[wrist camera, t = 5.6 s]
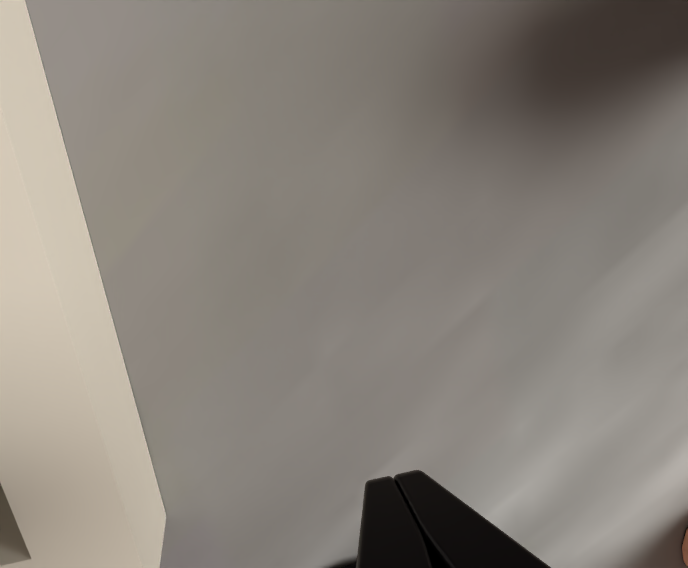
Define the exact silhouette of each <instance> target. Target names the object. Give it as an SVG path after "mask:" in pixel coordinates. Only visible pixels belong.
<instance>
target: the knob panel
mask: <svg viewBox="0 0 688 568" xmlns="http://www.w3.org/2000/svg"><path fill="white" fill-rule="evenodd" d="M0 483H1V485H0V568H159V567H160V560H161V552H162V545H163V537H164V530H165V522H166V513H165V509H164V506H163V502H162V498H161V495H160V491H159V487H158V484H157V480H156V477H155V473H154V469H153V466H152V462H151V458H150V455H149V451H148V447H147V444H146V440H145V436H144V433H143V429H142V426H141V422H140V418H139V415H138V411H137V407H136V404H135V400H134V396H133V393H132V389H131V385H130V382H129V378H128V374H127V371H126V367H125V364H124V360H123V356H122V353H121V349H120V345H119V342H118V338H117V334H116V331H115V327H114V323H113V320H112V316H111V313H110V309H109V305H108V302H107V298H106V294H105V291H104V287H103V283H102V280H101V276H100V272H99V269H98V265H97V262H96V258H95V254H94V251H93V247H92V243H91V240H90V236H89V232H88V229H87V225H86V221H85V218H84V214H83V210H82V207H81V203H80V200H79V196H78V192H77V189H76V185H75V181H74V178H73V174H72V170H71V167H70V163H69V159H68V156H67V152H66V149H65V145H64V141H63V138H62V134H61V130H60V127H59V123H58V119H57V116H56V112H55V108H54V105H53V101H52V98H51V94H50V90H49V87H48V83H47V79H46V76H45V72H44V68H43V65H42V61H41V57H40V54H39V50H38V46H37V43H36V39H35V36H34V32H33V28H32V25H31V21H30V17H29V14H28V10H27V6H26V3H25V0H0Z"/></svg>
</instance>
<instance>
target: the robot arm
mask: <svg viewBox="0 0 688 568" xmlns="http://www.w3.org/2000/svg"><path fill="white" fill-rule="evenodd" d="M341 568H551V567H549V566H548V565H547V564H545V563H544V562H543V561H541V560H540V559H539V558H537V557H536V556H535V555H533V554H532V553H531V552H529V551H528V550H527V549H525V548H524V547H523V546H521V545H520V544H519V543H517V542H516V541H515V540H513V539H512V538H511V537H509V536H508V535H507V534H505V533H504V532H503V531H501V530H500V529H499V528H497V527H496V526H495V525H493V524H492V523H491V522H489V521H488V520H487V519H485V518H484V517H483V516H481V515H480V514H479V513H477V512H476V511H475V510H473V509H472V508H471V507H469V506H468V505H466V504H465V503H464V502H462V501H461V500H460V499H458V498H457V497H456V496H454V495H453V494H452V493H450V492H449V491H448V490H446V489H445V488H444V487H442V486H441V485H440V484H438V483H437V482H436V481H434V480H433V479H432V478H430V477H429V476H428V475H426V474H425V473H424V472H422V471H419V470H414V471H410V472H405V473H401V474H397V475H396V476H395V477H394V479H393V478H392V477H390V476H387V477H382V478H378V479H373V480H369V481H367V482H366V484H365V491H364V501H363V510H362V519H361V528H360V538H359V547H358V556H357V564H354V565H349V566H345V567H341Z"/></svg>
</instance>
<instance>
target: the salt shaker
mask: <svg viewBox="0 0 688 568" xmlns="http://www.w3.org/2000/svg"><path fill="white" fill-rule="evenodd" d="M682 551H683V559H684V562H685V564H686V565H687V567H688V529H687V530H686V534H685V538H684V542H683V546H682Z"/></svg>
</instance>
